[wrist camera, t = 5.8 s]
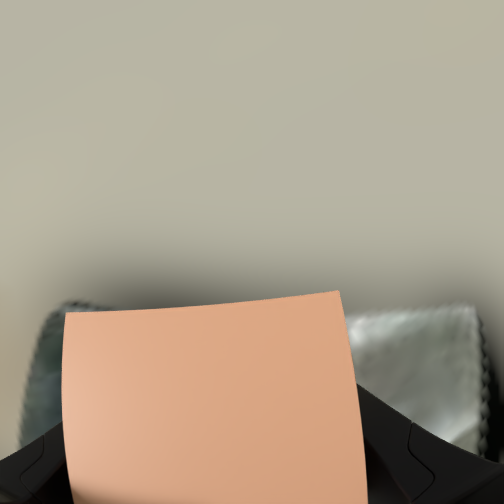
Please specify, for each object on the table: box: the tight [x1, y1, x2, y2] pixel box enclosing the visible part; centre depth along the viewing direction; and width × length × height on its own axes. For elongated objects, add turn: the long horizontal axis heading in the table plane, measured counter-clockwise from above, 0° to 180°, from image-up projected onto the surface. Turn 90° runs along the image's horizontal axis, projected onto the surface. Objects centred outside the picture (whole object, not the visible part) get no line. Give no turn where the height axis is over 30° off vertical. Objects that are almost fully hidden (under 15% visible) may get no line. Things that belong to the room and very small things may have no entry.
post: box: [62, 291, 368, 504], centre depth 8 cm, size 5×5×11 cm
